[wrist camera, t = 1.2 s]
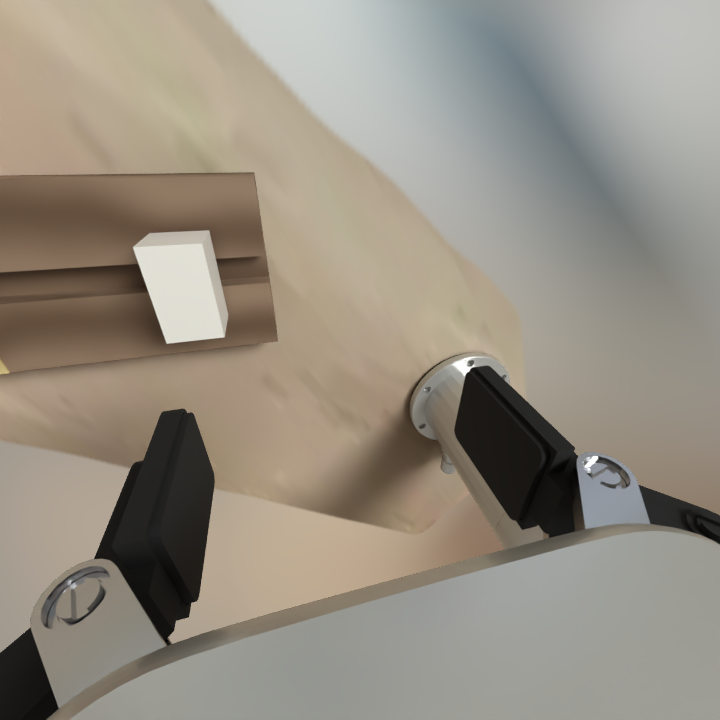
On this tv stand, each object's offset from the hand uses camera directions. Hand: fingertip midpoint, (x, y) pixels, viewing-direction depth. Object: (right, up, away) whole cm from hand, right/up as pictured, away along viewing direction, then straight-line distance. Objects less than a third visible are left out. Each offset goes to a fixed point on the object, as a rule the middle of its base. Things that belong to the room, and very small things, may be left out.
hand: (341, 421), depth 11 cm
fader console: (-18, +9, +13) cm, 24 cm away
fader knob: (-11, +9, +13) cm, 19 cm away
